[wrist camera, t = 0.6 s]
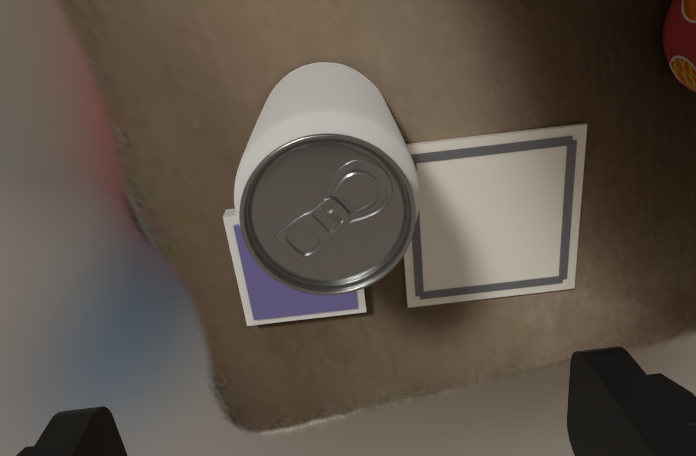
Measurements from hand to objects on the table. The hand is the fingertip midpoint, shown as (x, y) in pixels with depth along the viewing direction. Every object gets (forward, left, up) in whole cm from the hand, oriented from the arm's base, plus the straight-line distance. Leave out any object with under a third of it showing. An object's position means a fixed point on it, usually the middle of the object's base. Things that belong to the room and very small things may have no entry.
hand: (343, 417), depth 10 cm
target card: (+7, +8, -21) cm, 23 cm away
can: (0, 0, -21) cm, 21 cm away
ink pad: (+8, -3, -21) cm, 22 cm away
